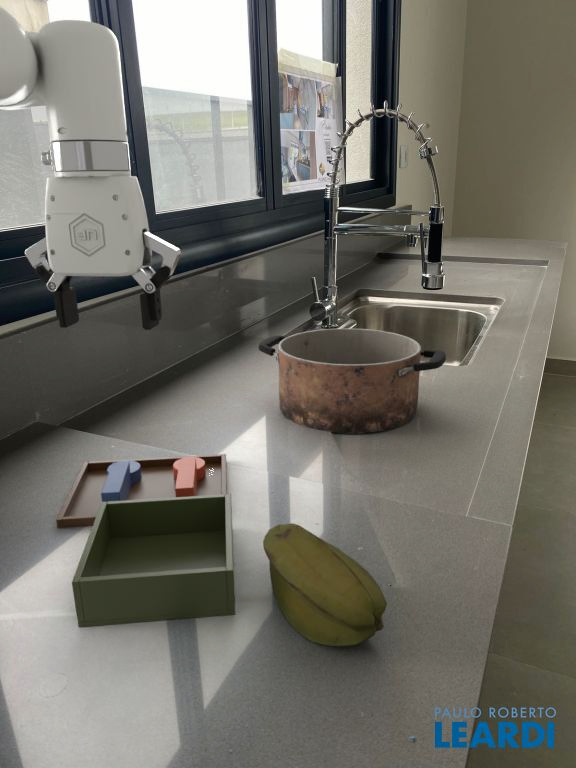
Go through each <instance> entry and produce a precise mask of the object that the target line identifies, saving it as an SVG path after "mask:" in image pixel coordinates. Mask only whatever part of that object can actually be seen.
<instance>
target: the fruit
mask: <svg viewBox="0 0 576 768" xmlns="http://www.w3.org/2000/svg"><path fill="white" fill-rule="evenodd" d="M262 544H263V550H264V553H265V555H266V557H267V560H268V561H269V575H270V582H271V587H272V592H273V596H274V599H275V602H276V604H277V606H278V607H279V610H280V611H281V613H282V615H283V617H284V618H285V619H286V621H287V622H288V623H289V625H291V627H293V628H294V630H296V632H298V633H299V634H300V635H301V636H302V637H304V639H306V640H309V642H312V643H316V644H318V645H324V646H327V647H350V646H358V645H360V644H362V643H364V642H365V641H368V640H369V639H370V638H372V637H375V635H376V633H377V632H380V631H382V630H383V629H384V621H383V615H384V613H385V611H386V607H387V604H388V602H387V600H386V597H385V595H384V593H383V591H382V589H381V587H380V585H379V584H378V583H377V581H376V580H375V578H374V577H373V576H372V575H371V574H370V573H369V571H368V570H367V569H365V568H364V567H363V566H362V565H361V564H360V563H359V562H357V560H355V559H354V558H353V557H351V556H349V555H348V554H347V553H345V552H343V551H342V550H341V549H340V548H338V547H336V546H335V545H333V544H331V543H329V542H327V541H326V540H324V539H322V538H320V537H319V536H318V535H315V534H314V533H312V532H311V531H309V530H307V529H305V528H304V527H303V526H301V525H300V524H296V523H285V524H282V523H281V524H277V525H276V526H274V527H272V528H270V529H268V531H267V532H266V534H265V535H264V537H263V541H262Z"/></svg>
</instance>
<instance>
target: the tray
mask: <svg viewBox="0 0 576 768" xmlns="http://www.w3.org/2000/svg"><path fill="white" fill-rule="evenodd" d="M186 457H197V458H201V459H203V460H204V461H205V468H206V475H205V477H204V478H202V479H201V480H198V481H197V492H196V496H205V495H221V494H228V479H227V478H228V477H227V475H228V473H227V472H228V471H227V454H226V453H218V454H198V455H182V456H166V457H165V456H163V457H162V456H161V457H147V458H132V459H131V458H129V459H112V460H111V459H110V460H93V461H84V462H83V464H82V465H81V468H80V470H79V472H78V474H77V476H76V478H75V480H74V482H73V485H72V486H71V489H70V491H69V493H68V495H67V496H66V499H65V501H64V503H63V505H62V507H61V509H60V511H59V513H58V515H57V517H56V520H55V521H56V528H57V529H69V528H84V527H93V524H94V521H95V519H96V516H97V513H98V510H99V508H100V505H101V502H102V497H101V492H102V490H103V487H104V484H105V482H106V479H107V477H108V473H107V469H108V467H109V466H110V465H112V464H113V463H116V462H120V461H136V462H138V463H139V464H140V466H141V476H142V477H141V479H140V481H138V482H137V483H135V484H132V485H131V487H130V491H129V494H128V497H127V500H141V499H157V498H173V497H176V493H175V487H176V479H175V478H174V473H173V464H174V462H175V461H177V460H179V459H182V458H186ZM212 468H213V469H214V470H213V469H212ZM209 469H210V470H213V471H214V472H213V471H210V470H209ZM211 472H212V473H211ZM209 473H210V474H209ZM211 474H213V475H211ZM209 475H210V476H209Z"/></svg>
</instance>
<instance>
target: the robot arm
mask: <svg viewBox="0 0 576 768" xmlns="http://www.w3.org/2000/svg"><path fill="white" fill-rule="evenodd" d="M39 107H45V112H46V119H47V127H48V128H47V129H48V136H49V142H50V143H49V144H48V145H49V150H48V151H42V152H41V155H40V158H41V162H42V164H43V165H45V166H51V168H52V172H53V173H54V176H53V177H51V176H50V177H46V184H45V195H44V197H45V198H44V227H45V237H44V238H42V239H41V240H39V241H37V242H35V243H34V244H32V245H31V246H29V247H28V248H26V249H25V251H24V255H25V257H26V258H27V260H28V262H29V263H30V265H31V266H32V268H34V273H35V275H36V276H37V277H38V278H39V279H40V280H41V281H42V282H43V283H44V284H45V285H46V288H47V290H48V291H50V292H52V293H53V301H54V308H55V315H56V318H57V319H58V323H59V324H58V325H59V327H60V328H62V329H67V328H68V327H70V326H73V325H75V324H77V323H79V321H80V315H79V308H78V306H79V305H78V299H77V291H76V289H75V287H74V286H73V287H72V286H71V283H72V282H73V281H74V279H75V277H127V276H131V277H132V278H133V280H135V281H136V282H137V283H138V285H139V286H140V287H141V288H142V289H143V290H142V291H143V292H141V293H140V294H139V303H140V315H141V325H142V329H144V330H145V331H151V330H152V329H154V328H156V327H157V326H158V325H160V321H161V320H162V317H163V311H162V297H161V290H162V289H163V288H164V286H165V284H166V283H167V282H168V281H169V280H170V279H171V277H173V275H174V274H175V269H176V267H177V265H178V263H179V261H180V258H181V255H182V250H181V249H180V248H179V247H177V246H175V245H174V244H171V243H169V242H168V241H165V240H164V239H162V238H160V237H159V236H157V235H154V234H152V233H151V232H150V227H149V219H148V214H147V210H146V206H145V201H144V197H143V194H142V190H141V186H140V182H139V180H138V177H137V176H135V175H132V173H131V171H132V170H131V159H130V150H129V149H130V148H129V143H128V142H129V138H128V130H127V118H126V117H127V116H126V109H125V97H124V85H123V75H122V65H121V53H120V47H119V41H118V39H117V36H116V35H115V34H114V32H113V31H112V30H111V29H110V28H108V27H107V26H105V25H102V24H100V23H97V22H93V21H89V20H77V19H63V20H62V19H61V20H60V19H59V20H55V21H50V22H47V23H45V24H44V25H43V26H42V27H40V29H39V31H38V32H36V31H27V30H25V29H24V28H23V26H22V25H21V24H20V23H19V21H18V20H17V19H16V18H15V17H14V15H12V14H11V13H10V12H8V11H7V10H6V9H5V8H3V7H2V6H0V110H2V111H17V110H25V109H31V108H32V109H33V108H39ZM153 252H154V253H156V254H158V255H160V256H161V257H162V262H161V264H160V265H161V266H160V268H158V269H157V271H156V270H154V268H153V267H152V263H153ZM46 255H47V258H46Z"/></svg>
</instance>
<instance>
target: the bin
mask: <svg viewBox="0 0 576 768" xmlns="http://www.w3.org/2000/svg"><path fill="white" fill-rule="evenodd" d="M232 512H233V511H232V494H231V493H227V494H221V495H205V496H189V497H173V498H157V499H141V500H125V501H109V502H101V505H100V508H99V510H98V513H97V516H96V519H95V521H94V524H93V526H91V530H90V532H89V535H88V537H87V540H86V543H85V546H84V549H83V551H82V554H81V556H80V559H79V562H78V564H77V567H76V570H75V573H74V575H73V578H72V580H71V586H72V593H73V600H74V606H75V613H76V620H77V621H76V622H77V626H78V628H82V627H83V628H84V627H96V626H108V625H121V624H132V623H145V622H156V621H157V622H158V621H170V620H171V621H172V620H182V619H195V618H207V617H218V616H231V615H236V594H235V593H236V592H235V589H236V588H235V564H234V562H235V561H234V535H233V534H234V533H233V516H232V515H233V513H232Z"/></svg>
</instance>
